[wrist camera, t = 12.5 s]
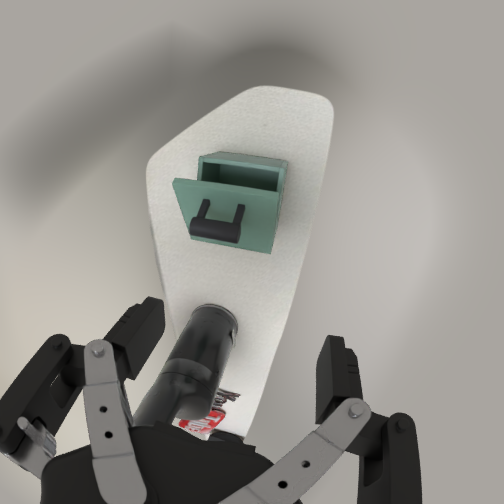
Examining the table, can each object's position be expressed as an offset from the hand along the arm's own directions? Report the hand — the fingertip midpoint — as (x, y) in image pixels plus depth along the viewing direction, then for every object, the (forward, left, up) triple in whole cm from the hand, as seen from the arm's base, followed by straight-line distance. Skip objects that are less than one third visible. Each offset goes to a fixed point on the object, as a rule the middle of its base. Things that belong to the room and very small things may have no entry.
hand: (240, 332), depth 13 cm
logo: (-55, -21, -26) cm, 64 cm away
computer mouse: (-64, -40, -26) cm, 79 cm away
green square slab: (-3, +4, -18) cm, 19 cm away
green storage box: (-3, +4, -30) cm, 31 cm away
